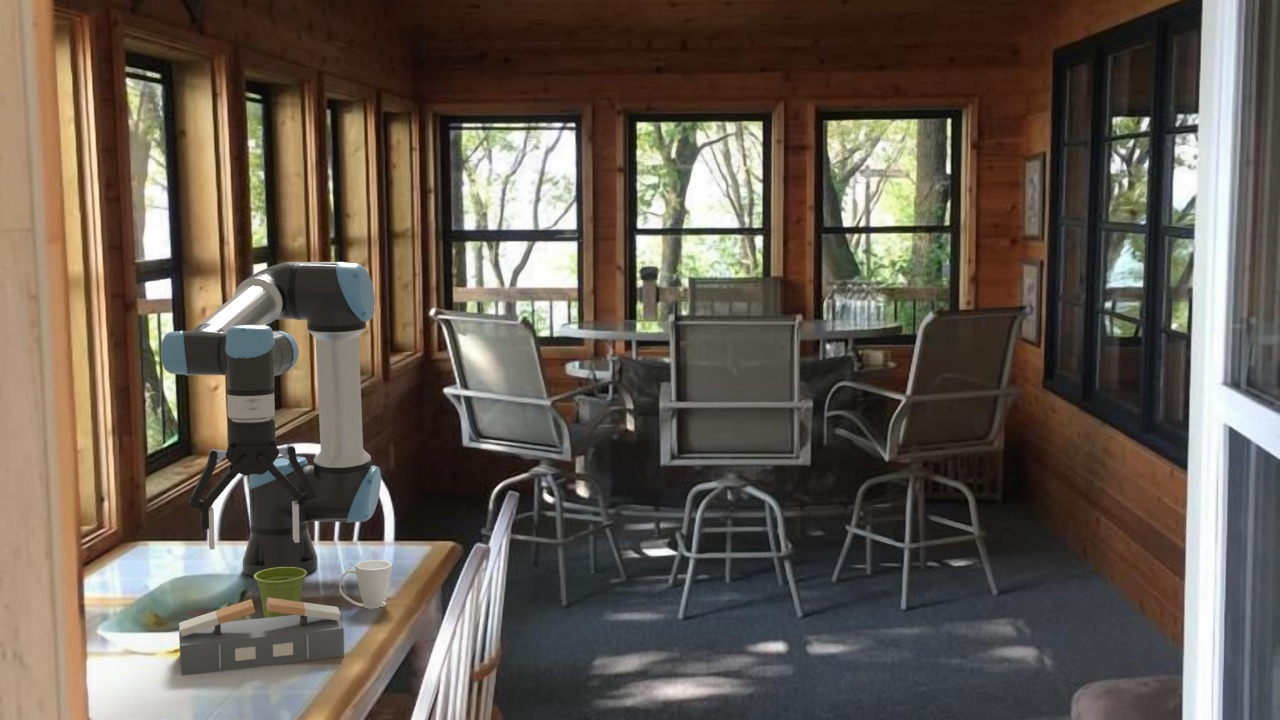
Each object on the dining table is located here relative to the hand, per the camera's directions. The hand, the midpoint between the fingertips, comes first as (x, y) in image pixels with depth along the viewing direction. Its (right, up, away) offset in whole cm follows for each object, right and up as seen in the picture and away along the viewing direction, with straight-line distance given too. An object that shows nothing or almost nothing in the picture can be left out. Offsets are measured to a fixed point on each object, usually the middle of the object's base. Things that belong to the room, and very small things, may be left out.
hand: (254, 544), depth 215 cm
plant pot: (-2, -17, +22) cm, 28 cm away
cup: (+12, -16, +30) cm, 37 cm away
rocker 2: (+7, -12, +4) cm, 14 cm away
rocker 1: (-6, -12, -1) cm, 14 cm away
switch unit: (+1, -19, +3) cm, 20 cm away
